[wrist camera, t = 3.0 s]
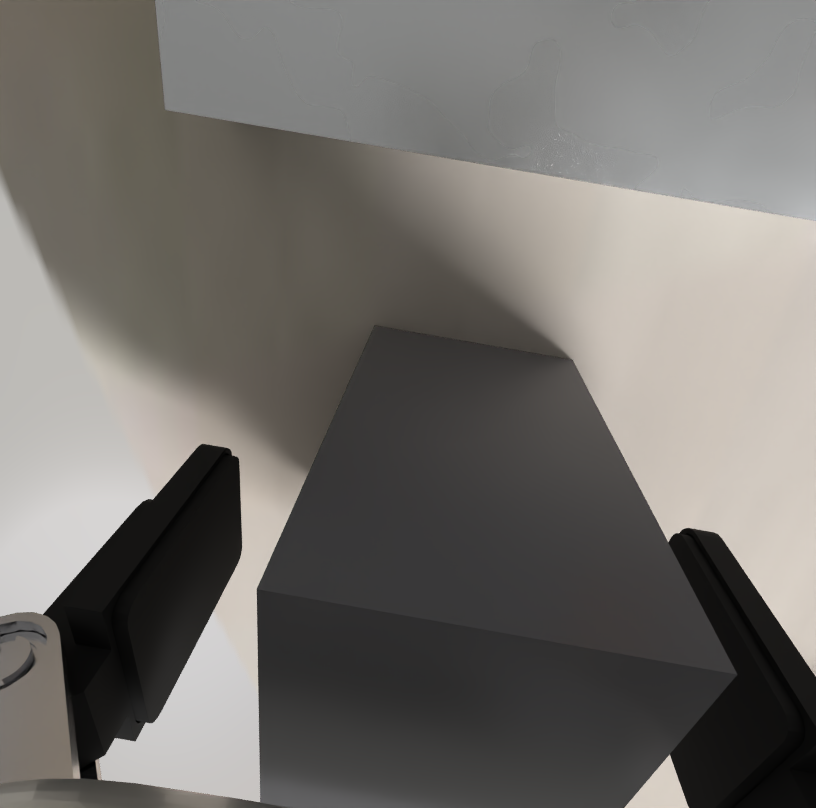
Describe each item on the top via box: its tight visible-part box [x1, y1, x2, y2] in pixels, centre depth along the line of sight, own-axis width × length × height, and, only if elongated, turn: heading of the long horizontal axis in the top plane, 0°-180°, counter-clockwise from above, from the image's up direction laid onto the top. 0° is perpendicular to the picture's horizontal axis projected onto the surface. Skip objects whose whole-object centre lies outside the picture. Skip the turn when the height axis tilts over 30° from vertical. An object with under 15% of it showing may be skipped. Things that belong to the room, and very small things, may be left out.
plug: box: [257, 326, 737, 808], centre depth 11 cm, size 9×5×8 cm, turn 171°
